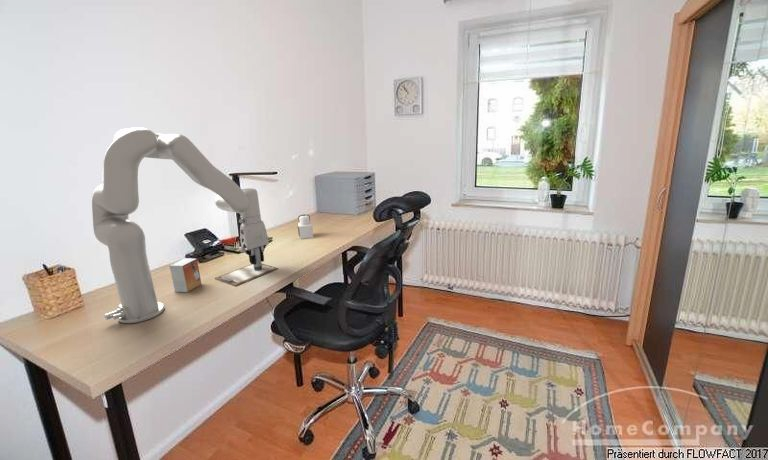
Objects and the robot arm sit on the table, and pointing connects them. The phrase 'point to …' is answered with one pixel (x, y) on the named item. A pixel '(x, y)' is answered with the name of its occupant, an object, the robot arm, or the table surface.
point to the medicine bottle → (305, 227)
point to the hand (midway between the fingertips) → (257, 262)
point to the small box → (185, 275)
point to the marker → (257, 259)
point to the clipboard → (244, 274)
